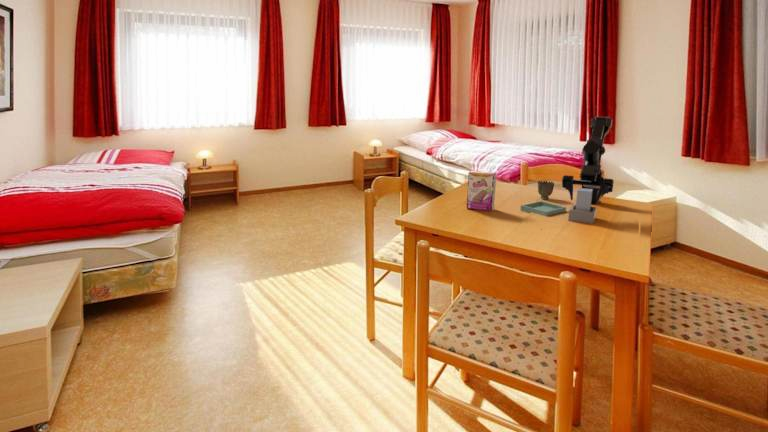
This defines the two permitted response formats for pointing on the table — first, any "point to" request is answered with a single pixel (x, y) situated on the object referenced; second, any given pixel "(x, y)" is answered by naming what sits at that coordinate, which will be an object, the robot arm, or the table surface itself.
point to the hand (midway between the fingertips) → (583, 201)
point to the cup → (545, 189)
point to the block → (584, 199)
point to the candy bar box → (481, 190)
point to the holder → (582, 215)
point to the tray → (542, 208)
